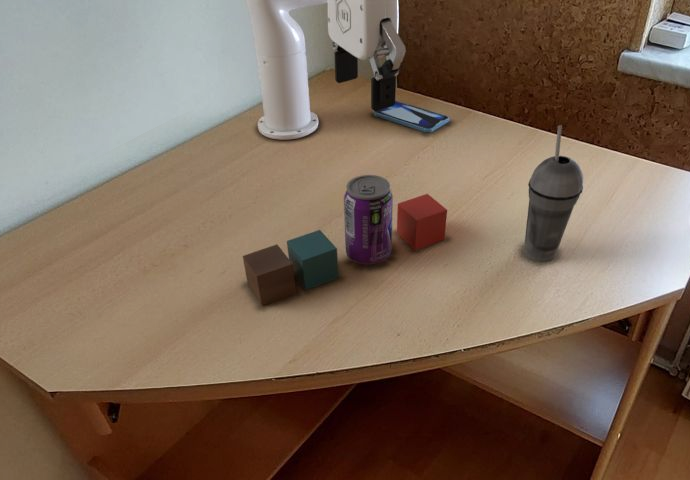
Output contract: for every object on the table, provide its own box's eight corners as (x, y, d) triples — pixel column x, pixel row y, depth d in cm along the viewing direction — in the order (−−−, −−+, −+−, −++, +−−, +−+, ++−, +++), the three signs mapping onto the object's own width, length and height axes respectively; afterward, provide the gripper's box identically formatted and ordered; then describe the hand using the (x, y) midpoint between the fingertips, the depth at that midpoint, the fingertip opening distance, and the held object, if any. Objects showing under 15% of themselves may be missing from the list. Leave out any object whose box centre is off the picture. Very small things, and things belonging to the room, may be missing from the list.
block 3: (396, 232, 100) (397, 203, 96) (425, 222, 101) (427, 193, 97) (415, 250, 96) (416, 220, 92) (444, 239, 98) (447, 209, 94)
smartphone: (393, 99, 133) (451, 116, 125) (393, 103, 134) (451, 121, 126) (371, 111, 129) (429, 130, 121) (371, 116, 130) (428, 135, 122)
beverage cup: (556, 273, 90) (590, 145, 76) (507, 259, 93) (532, 134, 79) (570, 246, 95) (605, 121, 80) (524, 234, 98) (550, 110, 83)
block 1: (247, 285, 93) (242, 255, 89) (281, 273, 94) (277, 243, 90) (261, 306, 89) (256, 276, 85) (296, 293, 91) (292, 263, 87)
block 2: (290, 270, 95) (286, 240, 91) (322, 259, 96) (319, 229, 92) (305, 290, 91) (302, 260, 87) (338, 278, 93) (336, 248, 89)
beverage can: (388, 269, 93) (389, 200, 85) (342, 266, 95) (339, 197, 86) (393, 242, 98) (395, 174, 90) (349, 239, 99) (347, 171, 91)
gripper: (300, -69, 73) (310, 77, 85) (372, -34, 62) (371, 127, 75) (356, -80, 75) (357, 64, 88) (435, -48, 64) (424, 112, 77)
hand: (364, 93), depth 81 cm, fingers open, 9 cm apart
